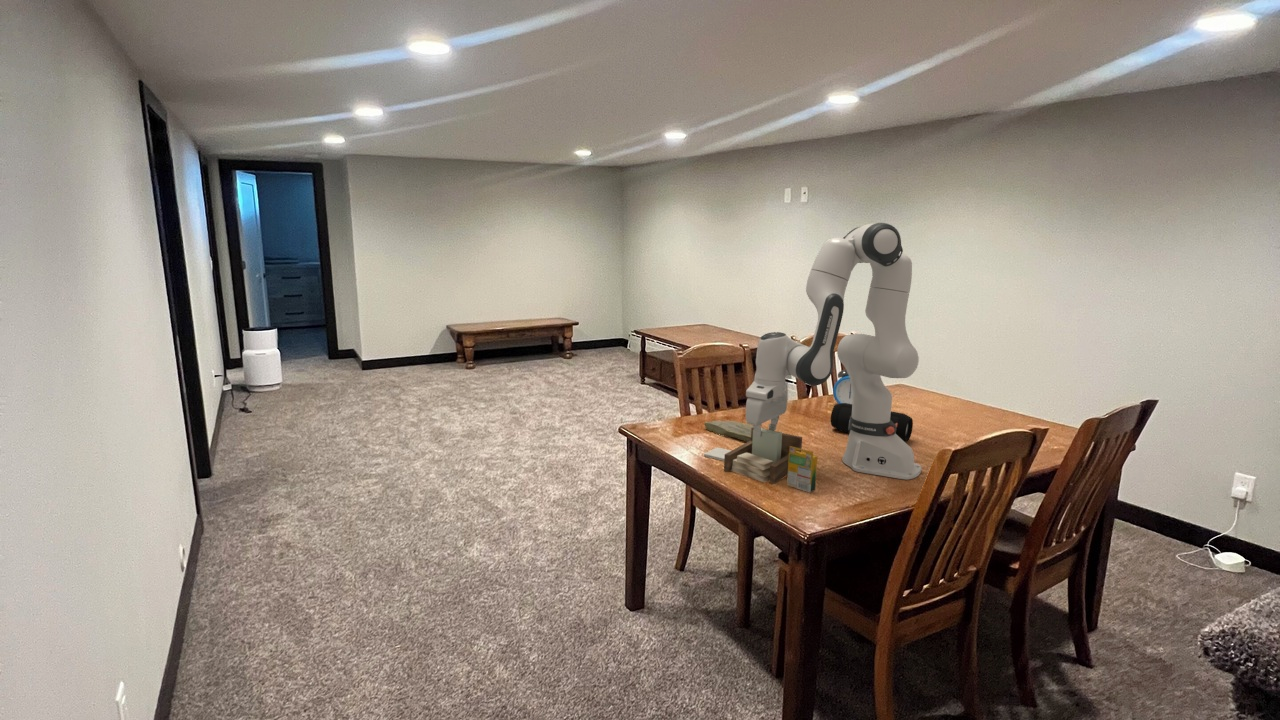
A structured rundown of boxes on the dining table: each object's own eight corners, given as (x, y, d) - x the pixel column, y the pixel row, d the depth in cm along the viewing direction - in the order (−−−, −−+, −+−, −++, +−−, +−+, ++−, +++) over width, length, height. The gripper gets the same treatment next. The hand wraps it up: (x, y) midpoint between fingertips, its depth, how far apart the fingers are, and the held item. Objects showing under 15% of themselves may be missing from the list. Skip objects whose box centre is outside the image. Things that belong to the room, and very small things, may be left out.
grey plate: (747, 456, 208) (747, 454, 208) (735, 464, 201) (735, 461, 201) (716, 449, 214) (716, 447, 214) (703, 456, 208) (704, 453, 208)
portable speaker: (828, 432, 235) (830, 404, 233) (839, 425, 242) (841, 399, 240) (903, 447, 220) (906, 418, 218) (912, 440, 227) (915, 412, 225)
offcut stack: (774, 478, 191) (775, 461, 190) (763, 483, 188) (764, 465, 187) (742, 467, 199) (743, 451, 198) (731, 471, 196) (732, 454, 195)
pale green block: (780, 468, 199) (782, 432, 197) (775, 470, 196) (777, 435, 194) (755, 462, 203) (757, 427, 201) (751, 464, 201) (753, 429, 199)
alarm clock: (831, 406, 267) (834, 370, 264) (835, 403, 272) (837, 367, 269) (865, 411, 261) (868, 374, 258) (868, 408, 266) (871, 371, 263)
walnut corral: (800, 465, 201) (802, 437, 199) (774, 483, 187) (776, 453, 185) (752, 454, 210) (753, 426, 208) (723, 470, 196) (725, 441, 194)
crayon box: (815, 490, 183) (818, 449, 181) (810, 493, 181) (813, 452, 178) (791, 482, 188) (794, 443, 185) (786, 485, 185) (789, 445, 183)
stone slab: (722, 416, 242) (795, 431, 221) (722, 427, 243) (795, 443, 222) (701, 422, 233) (775, 439, 213) (700, 433, 234) (774, 452, 213)
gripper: (774, 380, 205) (771, 424, 208) (743, 391, 189) (739, 438, 192) (793, 384, 202) (789, 428, 204) (763, 395, 185) (759, 443, 188)
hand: (765, 433), depth 198 cm, fingers open, 8 cm apart
